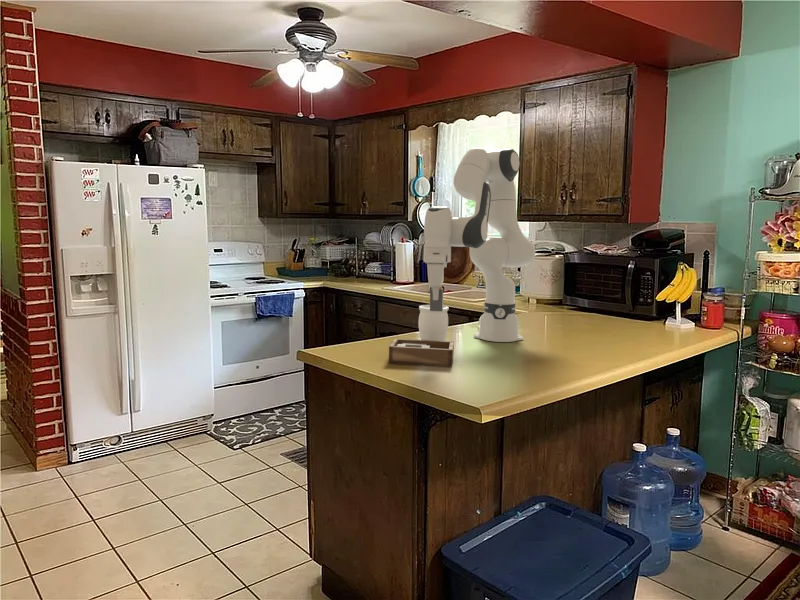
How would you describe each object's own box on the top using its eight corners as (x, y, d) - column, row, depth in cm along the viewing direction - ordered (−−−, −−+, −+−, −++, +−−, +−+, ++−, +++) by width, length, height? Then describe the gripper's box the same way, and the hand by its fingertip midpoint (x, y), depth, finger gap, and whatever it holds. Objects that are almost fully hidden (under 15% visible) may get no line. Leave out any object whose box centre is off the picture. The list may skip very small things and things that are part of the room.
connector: (430, 309, 200) (431, 285, 199) (442, 309, 199) (443, 285, 198) (429, 311, 196) (430, 286, 195) (442, 311, 195) (442, 286, 194)
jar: (449, 346, 221) (451, 305, 219) (444, 352, 211) (445, 309, 209) (421, 343, 224) (422, 303, 222) (414, 349, 214) (415, 307, 212)
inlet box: (394, 354, 206) (394, 338, 205) (453, 357, 203) (453, 341, 202) (388, 363, 193) (389, 346, 192) (451, 367, 190) (452, 350, 190)
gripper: (429, 255, 206) (428, 295, 208) (424, 257, 186) (424, 302, 188) (448, 255, 205) (447, 296, 207) (445, 258, 185) (444, 303, 187)
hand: (436, 299), depth 197 cm, fingers closed on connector, 4 cm apart
